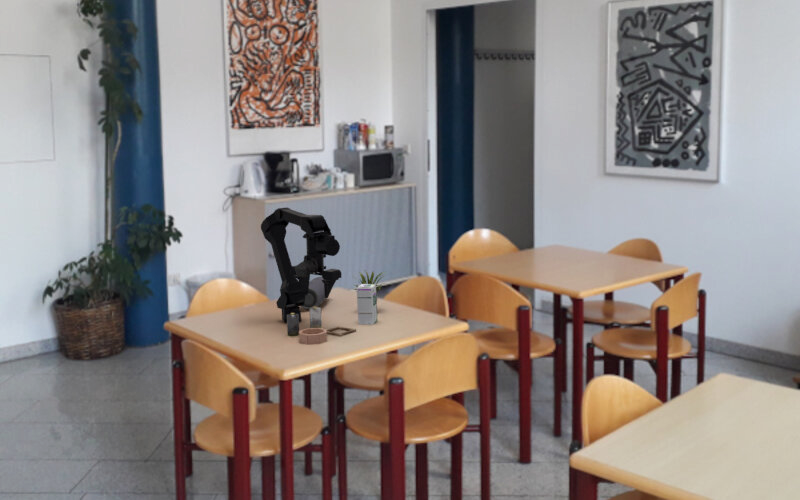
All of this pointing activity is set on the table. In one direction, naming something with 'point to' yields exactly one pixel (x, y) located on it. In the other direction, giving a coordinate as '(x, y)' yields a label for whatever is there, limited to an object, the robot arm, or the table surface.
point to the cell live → (315, 317)
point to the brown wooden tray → (340, 329)
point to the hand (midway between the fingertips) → (316, 296)
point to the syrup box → (367, 304)
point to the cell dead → (293, 324)
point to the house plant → (370, 280)
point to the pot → (312, 336)
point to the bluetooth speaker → (314, 293)
